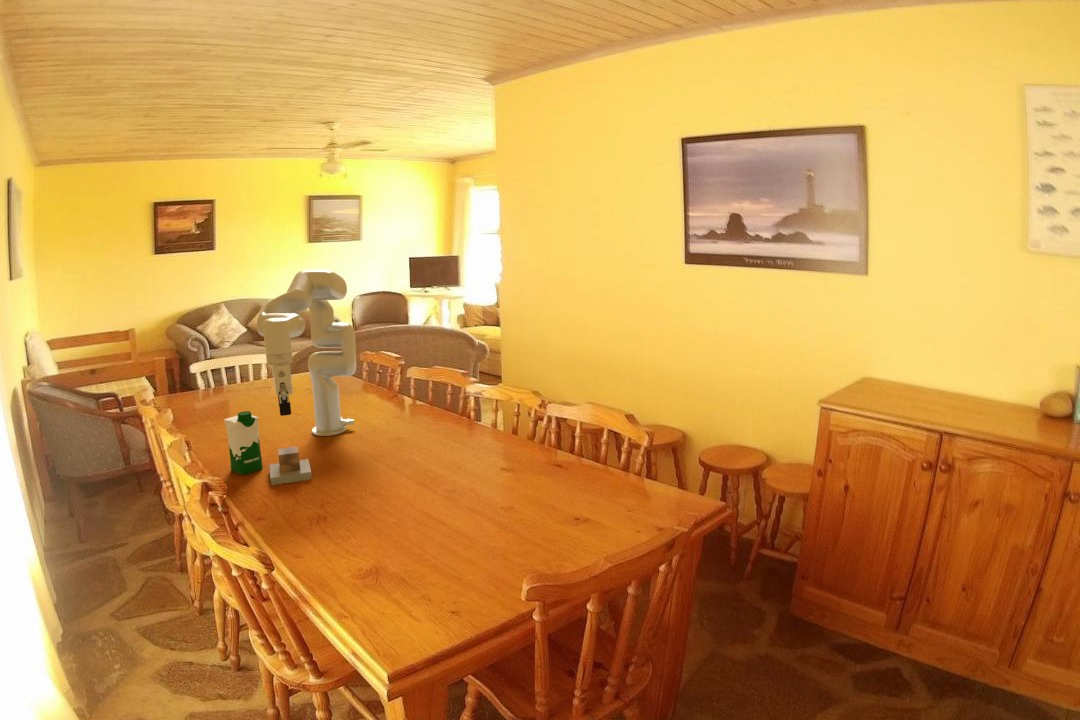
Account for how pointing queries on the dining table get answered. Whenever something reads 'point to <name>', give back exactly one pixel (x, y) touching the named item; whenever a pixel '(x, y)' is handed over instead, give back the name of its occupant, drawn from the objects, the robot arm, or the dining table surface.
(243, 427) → the soya milk
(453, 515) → the dining table surface
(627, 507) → the dining table surface
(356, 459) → the dining table surface
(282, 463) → the walnut block
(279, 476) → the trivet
